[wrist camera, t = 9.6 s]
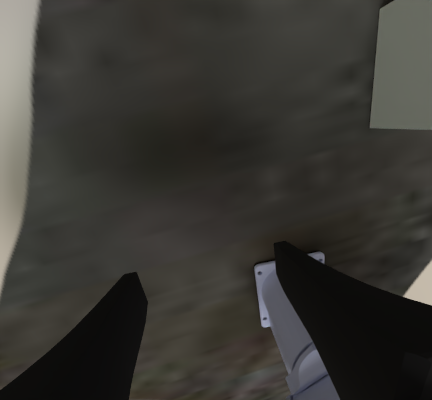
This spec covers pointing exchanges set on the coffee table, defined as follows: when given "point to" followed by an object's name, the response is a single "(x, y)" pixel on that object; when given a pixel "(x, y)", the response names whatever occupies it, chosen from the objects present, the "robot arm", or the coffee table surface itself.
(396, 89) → the box
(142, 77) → the coffee table surface
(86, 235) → the coffee table surface
